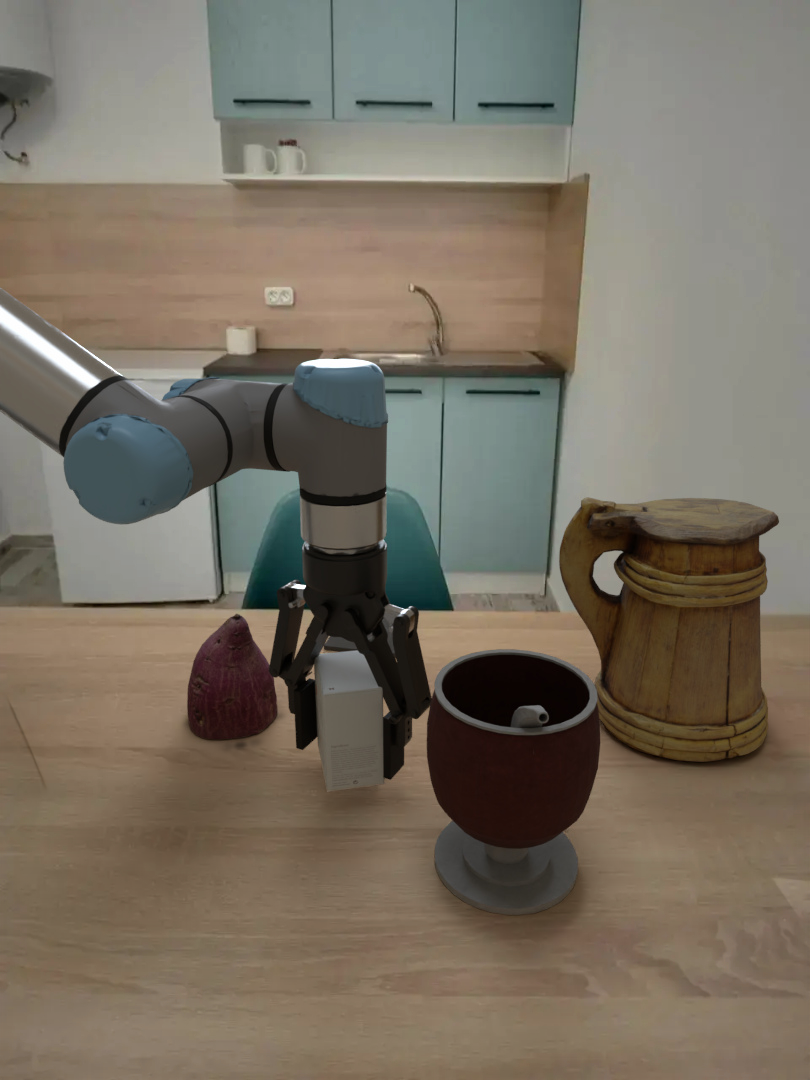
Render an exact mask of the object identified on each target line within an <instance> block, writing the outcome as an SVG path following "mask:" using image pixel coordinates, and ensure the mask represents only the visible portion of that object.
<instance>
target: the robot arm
mask: <svg viewBox="0 0 810 1080" xmlns="http://www.w3.org/2000/svg"><path fill="white" fill-rule="evenodd" d="M385 380H386V379H385V375H384V372H383V371H382V369H381V368H380V366H378V365H377V364H376V363H374V362H372V361H368V360H364V359H357V358H356V359H355V358H338V359H337V358H335V359H333V358H319V359H313V360H306V361H303V362H301V363H299V364H298V365H297V366H296V368H295V370H294V379H293V382H290V383H286V382H285V383H282V382H266V381H255V380H253V381H252V380H239V379H226V378H225V379H224V378H220V377H218V376H208V377H205V378H182V379H180V380H177V381H175V382H174V383H172V384H171V386H170V388H169V391H168V392H167V393H165V394H164V395H163V396H162V398H161V400H160V399H158V398H156V397H154V396H153V395H151V393H149V392H147V391H146V390H144V389H143V388H141V387H140V386H139V385H137V384H135V383H134V382H133V381H131V380H130V379H128V378H127V377H125V376H123V375H122V374H121V373H119V372H118V371H117V370H115V369H114V368H113V367H111V366H110V365H109V364H107V363H106V362H104V361H103V360H101V359H100V358H98V357H97V356H95V354H93V353H92V352H90V351H89V350H87V349H86V348H85V347H84V346H82V345H81V344H79V343H78V342H77V341H75V340H74V339H72V338H71V337H70V336H68V335H67V334H65V333H64V332H62V331H61V330H60V329H59V328H57V327H56V326H54V325H53V324H52V323H50V322H49V321H48V320H46V319H45V318H43V317H42V316H40V314H38V313H36V312H35V311H34V310H32V309H31V308H30V307H27V305H25V304H23V302H21V301H19V300H18V299H17V298H15V297H14V296H12V295H11V294H10V293H8V292H7V291H5V289H3V288H1V287H0V413H2V414H3V415H4V416H6V417H8V419H10V420H11V421H13V422H15V423H16V424H17V425H18V426H19V427H21V428H23V429H24V430H25V431H26V432H28V433H29V434H31V435H32V436H33V437H35V438H36V439H37V440H39V441H40V442H41V443H43V444H44V445H46V446H47V447H48V448H50V449H51V450H53V451H54V452H55V453H57V454H58V455H60V456H61V457H62V458H63V464H62V465H63V472H64V477H65V481H66V483H67V486H68V489H69V490H70V491H73V494H74V495H75V497H76V498H77V499H78V504H79V505H80V507H81V508H82V509H84V511H86V512H87V513H88V514H90V515H91V516H93V517H94V518H96V519H98V520H100V521H103V522H105V523H109V524H113V525H131V524H135V523H139V522H141V521H144V520H148V519H150V518H153V517H155V516H157V515H161V514H165V513H168V512H170V511H171V510H173V509H175V508H176V507H178V506H179V505H180V504H181V503H182V502H183V501H184V500H185V501H186V499H188V498H190V497H191V496H194V495H195V494H197V493H198V492H200V491H202V490H204V489H207V488H209V487H211V486H213V485H215V484H217V483H219V482H221V481H223V480H224V479H226V478H228V477H231V476H232V475H234V474H236V473H238V472H239V471H241V470H247V469H248V470H250V469H251V470H263V471H275V472H285V473H286V472H295V473H297V477H298V484H299V486H298V487H299V515H300V518H299V519H300V521H299V522H300V537H301V539H302V540H303V541H304V542H303V543H302V545H301V557H302V559H301V561H302V578H303V581H304V583H305V584H302V582H301V581H300V580H298V579H294V580H292V581H290V582H288V583H287V584H285V585H283V586H281V587H280V588H278V589H277V590H276V598H277V605H278V615H277V621H276V626H275V631H274V632H275V633H274V638H273V643H272V649H271V654H270V661H269V665H270V666H269V673H270V675H271V676H272V677H274V679H275V678H276V679H277V678H280V679H282V680H283V681H284V684H285V686H286V687H287V699H288V710H289V713H290V714H292V715H294V728H295V730H294V731H295V749H297V750H300V751H303V750H305V749H306V748H307V747H308V746H309V745H310V744H312V742H314V741H316V739H317V717H316V695H315V678H310V677H309V676H310V675H312V673H313V671H312V669H313V668H314V661H315V658H316V657H317V656H319V654H321V652H322V650H323V649H324V644H325V643H326V641H327V640H328V639H329V637H330V636H331V637H342V638H344V639H346V640H347V641H351V642H354V643H355V645H356V647H357V650H358V652H359V653H360V654H363V655H364V656H365V659H366V661H367V663H368V665H369V667H370V669H371V672H372V674H373V676H374V678H375V680H376V683H377V685H378V687H381V688H382V689H383V701H384V702H385V704H386V707H387V709H388V712H387V713H386V714H385V715H383V778H384V779H386V780H388V781H391V780H392V779H393V778H394V777H395V776H396V775H397V774H398V772H399V771H400V770H401V769H402V768H403V767H404V766H405V747H406V746H407V745H408V744H409V743H410V741H411V740H412V738H413V719H414V720H417V719H420V718H421V717H422V716H423V715H424V714H425V712H426V711H428V709H430V704H431V699H432V694H431V689H430V684H429V680H428V675H427V670H426V666H425V661H424V656H423V652H422V648H421V643H420V639H419V634H418V627H419V626H418V625H419V616H420V612H419V609H418V608H417V607H416V606H415V605H410V606H408V607H406V608H403V607H399V606H397V605H394V604H392V603H391V602H390V599H389V597H388V596H387V592H386V585H387V580H388V544H387V542H386V541H385V540H384V539H385V538H386V536H387V535H388V533H387V531H388V527H387V526H388V522H387V520H388V519H387V517H388V515H387V513H388V511H387V509H388V507H387V506H388V501H387V500H388V496H387V494H388V492H387V462H388V461H387V456H388V455H387V454H388V453H387V451H388V449H387V448H388V447H387V446H388V423H389V413H388V411H387V397H386V382H385ZM305 604H306V605H307V607H308V609H309V611H310V612H311V614H312V615H313V617H312V619H311V621H310V623H309V625H308V627H307V629H306V631H305V637H304V639H303V641H302V643H301V645H300V647H299V649H298V648H297V647H298V642H299V636H300V631H301V627H302V626H301V625H302V620H303V615H304V610H305ZM384 618H385V619H386V620H387V621H388V623H389V628H388V630H389V632H390V633H393V636H392V638H393V646H394V651H395V655H396V657H394V655H393V653H392V650H391V648H390V646H389V644H388V641H387V639H388V634H387V631H386V629H385V627H384V625H383V622H382V620H383V619H384ZM371 633H372V637H370V638H369V639H368V638H367V636H368V635H370V634H371ZM297 649H298V651H297ZM296 652H297V653H296ZM308 677H309V678H308Z"/></svg>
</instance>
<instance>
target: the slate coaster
mask: <svg viewBox="0 0 810 1080" xmlns="http://www.w3.org/2000/svg"><path fill="white" fill-rule="evenodd" d="M382 622H383V625H384V627H385V629H386V631H387V634H388V639H387V641H388V644H389V646H390V648H391V650H392V653H393V655H394V657H395V658H396V655H395V651H394V646H393V638H392V636H393V633H390V632H389V630H388V628H389V623H388V621H387V620H386V619H385V618H384V619H383V620H382ZM370 637H372V633H371V634H370V635H368V636H367V638H368V639H369V638H370ZM323 650H324V651H325V650H326V651H333V652H346V651H357V647H356V645H355V643H354V642H351V641H347V640H346V639H344V638H342V637H331V636H329V637H328V638H327V640H326V642H325V644H324V646H323Z"/></svg>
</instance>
